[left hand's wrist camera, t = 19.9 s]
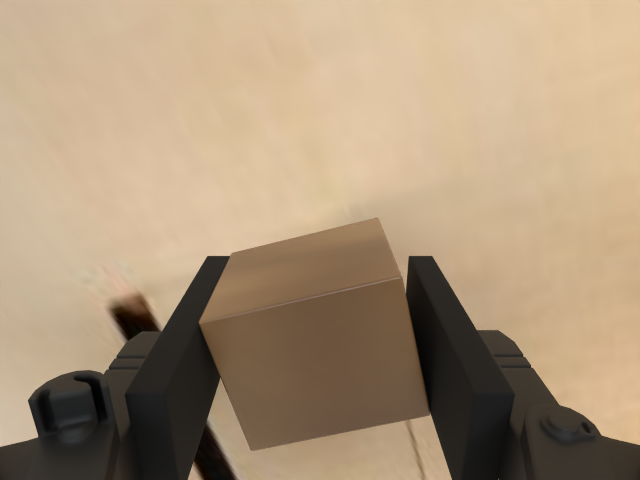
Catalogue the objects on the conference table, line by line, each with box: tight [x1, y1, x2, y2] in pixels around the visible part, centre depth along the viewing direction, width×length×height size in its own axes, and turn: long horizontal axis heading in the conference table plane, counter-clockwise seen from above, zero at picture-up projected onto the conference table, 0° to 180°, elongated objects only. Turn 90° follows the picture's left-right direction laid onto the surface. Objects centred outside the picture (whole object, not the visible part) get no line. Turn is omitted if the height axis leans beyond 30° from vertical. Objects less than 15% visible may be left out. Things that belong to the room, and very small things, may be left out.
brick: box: [199, 218, 430, 451], centre depth 13 cm, size 5×4×4 cm
